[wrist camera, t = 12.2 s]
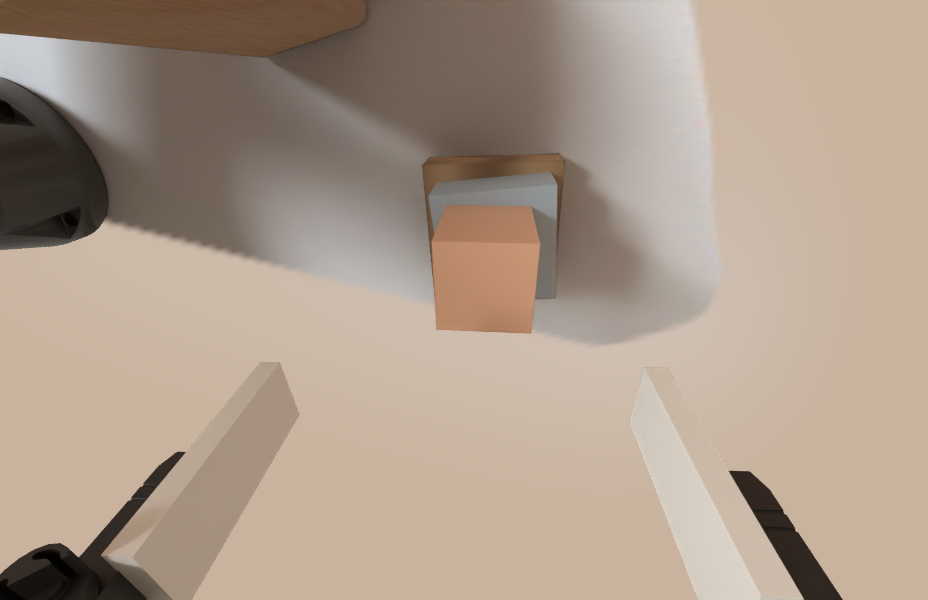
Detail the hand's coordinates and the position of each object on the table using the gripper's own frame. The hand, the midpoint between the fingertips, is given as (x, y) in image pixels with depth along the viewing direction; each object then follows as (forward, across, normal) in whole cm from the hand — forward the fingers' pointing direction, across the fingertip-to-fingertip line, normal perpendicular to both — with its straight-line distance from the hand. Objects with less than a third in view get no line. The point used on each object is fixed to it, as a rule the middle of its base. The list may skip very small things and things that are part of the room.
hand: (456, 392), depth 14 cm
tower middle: (+20, +2, -1) cm, 20 cm away
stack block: (+16, +1, -1) cm, 16 cm away
